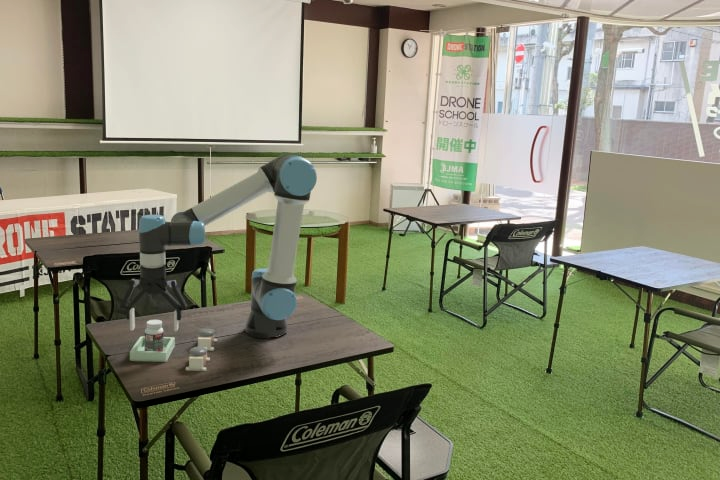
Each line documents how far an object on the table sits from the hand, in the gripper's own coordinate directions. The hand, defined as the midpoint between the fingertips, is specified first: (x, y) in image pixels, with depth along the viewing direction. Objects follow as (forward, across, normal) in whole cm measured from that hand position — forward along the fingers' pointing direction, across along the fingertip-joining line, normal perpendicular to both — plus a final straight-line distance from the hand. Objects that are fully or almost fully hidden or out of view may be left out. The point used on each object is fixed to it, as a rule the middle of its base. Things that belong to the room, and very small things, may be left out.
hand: (154, 329), depth 199 cm
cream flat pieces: (+8, -15, 0) cm, 17 cm away
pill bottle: (+8, 0, 0) cm, 8 cm away
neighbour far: (+8, -15, -8) cm, 19 cm away
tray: (+8, +1, 0) cm, 8 cm away
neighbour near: (+8, -15, +8) cm, 19 cm away
